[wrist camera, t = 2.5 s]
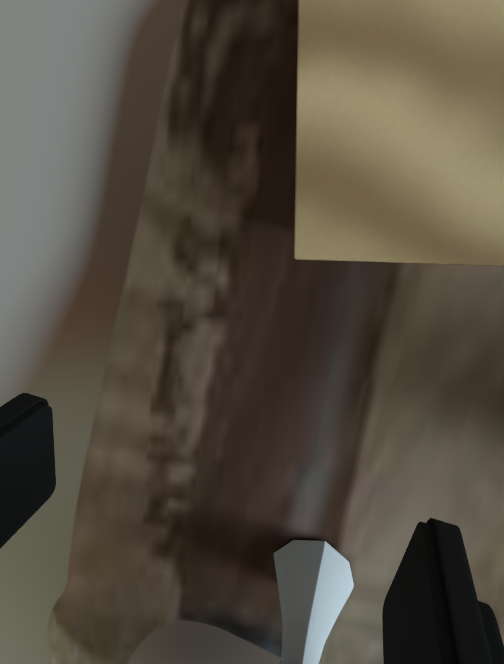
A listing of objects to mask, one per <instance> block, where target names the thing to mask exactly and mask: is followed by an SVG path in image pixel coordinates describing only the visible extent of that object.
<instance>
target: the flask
mask: <svg viewBox="0 0 504 664" xmlns="http://www.w3.org/2000/svg"><path fill="white" fill-rule="evenodd" d="M273 554H274V562H275V569H276V576H277V582H278V589H279V597H280V606H281V614H282V623H283V635H282V654H281V660H280V664H319V660H320V657H321V654H322V650H323V647H324V644H325V641H326V639H327V637H328V635H329V633H330V631H331V629H332V627H333V625H334V623H335V621H336V619H337V617H338V615H339V613H340V611H341V609H342V608H343V606H344V604H345V602H346V600H347V599H348V597H349V595H350V593H351V591H352V589H353V587H354V584H353V579H352V574H351V569H350V564H349V562H348V561H347V560H346V559H345V558H344V557H343V556H342V555H341V554H339V553H338V552H337V551H336V550H335V549H334V548H333V547H331V546H330V545H329V544H328V543H327V542H326V541H308V540H293V541H291V542H290V543H288V544H287V545H285V546H284V547H282V548H281V549H279V550H278V551H276V552H275V553H273Z"/></svg>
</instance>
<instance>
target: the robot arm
mask: <svg viewBox="0 0 504 664" xmlns="http://www.w3.org/2000/svg"><path fill="white" fill-rule="evenodd" d="M55 485H56V476H55V457H54V437H53V419H52V408H51V407H50V406H49V405H48V402H47V400H46V399H44V398H40V397H37V396H34V395H31V394H28V393H22V394H20V395H18V396H16V397H15V398H13V399H12V400H10V401H9V402H7V403H6V404H4V405H3V406H1V407H0V548H1V547H2V546H3V545H4V544H5V543H6V542H7V541H8V540H9V539H10V538H11V537H12V536H13V535H14V534H15V533H16V532H17V531H18V530H19V529H20V528H21V527H22V526H23V525H24V524H25V522H26V521H27V520H28V519H29V518H30V517H31V516H32V515H33V514H34V513H35V512H36V511H37V510H38V509H39V508H40V507H41V506H42V505H43V504H44V503H45V502H46V501H47V500H48V499H49V498H50V496H51V495H52V493H53V492H54V489H55ZM383 654H384V664H504V645H503V642H502V638H501V635H500V631H499V627H498V624H497V620H496V617H495V615H494V612H493V610H492V609H491V607H490V606H489V605H488V604H485V603H483V602H480V601H478V600H477V596H476V592H475V587H474V583H473V579H472V575H471V571H470V567H469V563H468V559H467V555H466V551H465V547H464V543H463V539H462V535H461V531H460V529H459V527H458V526H456V525H452V524H449V523H446V522H443V521H439V520H436V519H433V518H430V519H429V520H428V521H427V523H423V522H419V523H418V524H417V526H416V529H415V531H414V533H413V536H412V538H411V540H410V543H409V545H408V547H407V549H406V552H405V554H404V556H403V559H402V561H401V563H400V566H399V568H398V570H397V573H396V575H395V577H394V580H393V582H392V584H391V586H390V589H389V591H388V593H387V596H386V598H385V601H384V606H383Z"/></svg>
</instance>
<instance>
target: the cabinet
mask: <svg viewBox="0 0 504 664" xmlns="http://www.w3.org/2000/svg"><path fill="white" fill-rule="evenodd" d="M294 258H295V259H300V260H332V261H363V262H395V263H427V264H459V265H491V266H504V0H298V37H297V103H296V169H295V236H294Z"/></svg>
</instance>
